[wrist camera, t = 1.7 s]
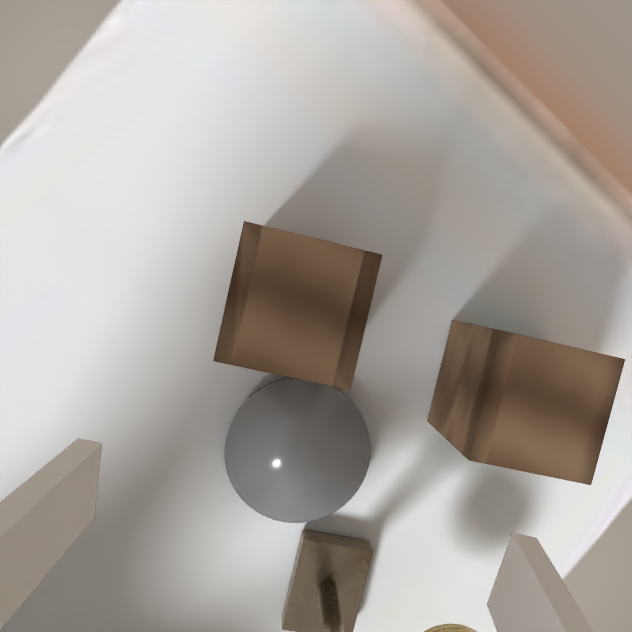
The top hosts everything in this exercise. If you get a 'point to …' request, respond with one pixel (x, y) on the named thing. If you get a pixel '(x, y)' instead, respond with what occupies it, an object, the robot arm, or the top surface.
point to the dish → (297, 450)
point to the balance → (331, 585)
